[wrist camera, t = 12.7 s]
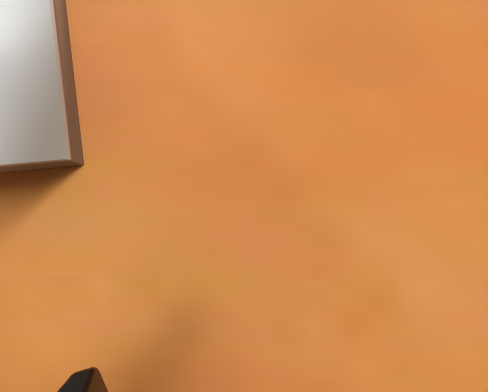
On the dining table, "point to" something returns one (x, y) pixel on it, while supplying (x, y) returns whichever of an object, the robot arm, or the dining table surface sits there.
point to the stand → (37, 87)
